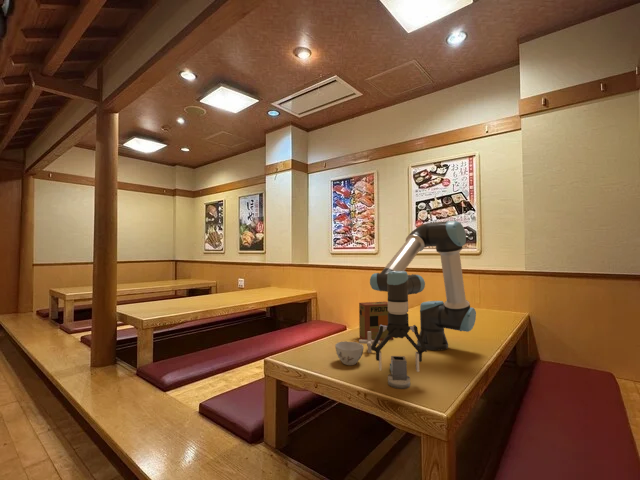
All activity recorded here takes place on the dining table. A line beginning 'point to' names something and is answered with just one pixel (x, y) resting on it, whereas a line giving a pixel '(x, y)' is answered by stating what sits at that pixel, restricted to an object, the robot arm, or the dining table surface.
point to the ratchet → (398, 382)
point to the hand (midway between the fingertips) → (398, 370)
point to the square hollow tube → (398, 368)
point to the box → (373, 319)
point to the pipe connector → (368, 341)
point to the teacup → (349, 352)
